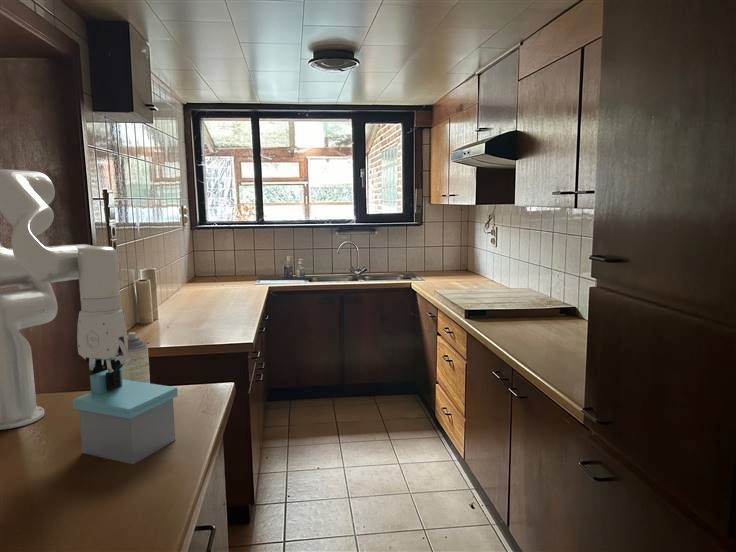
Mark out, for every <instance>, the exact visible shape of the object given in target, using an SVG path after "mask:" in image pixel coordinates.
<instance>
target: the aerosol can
mask: <svg viewBox="0 0 736 552" xmlns="http://www.w3.org/2000/svg"><path fill="white" fill-rule="evenodd" d="M127 340H128V351H127V352H128V354H129V356H130V360H129V361H128V362H126V363H124V365H123V366H122V369H121V371H122V380H130V381H137V382H144V383H150V384H151V381H150V380H151V379H150V378H151V377H150V376H151V375H150V361H149V346H148V344H147V342H145V341H143V339H141V338H139V337H138V336H137V333H136V332H133V331H132V332H128V335H127Z"/></svg>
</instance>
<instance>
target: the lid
mask: <svg viewBox="0 0 736 552" xmlns="http://www.w3.org/2000/svg"><path fill="white" fill-rule="evenodd" d="M107 372H108V369H106V370H105V371H102V372H99V373H96V374H94V375H92V374H91V375H89V381H90V383H89V384H90V392H88V393H86V394H82V395H80V396H78V397H75V398H73V399H72V405H73V406H72V407H73V409H74V410H78V411H79V410H85V411H90V412H96V413H101V414H107V415H112V416H117V417H123V418H128V419H131V418H133V417H135V416H137V415H139V414H141V413H144V412H146V411H148V410H150V409H152V408H154V407H156V406H158V405H160V404H162V403H164V402H167V401H169V400H171V399H173V400H174V398H177V397H179V396H178V395H179V394H178V387H176V386H171V385H170V386H169V385H163V384H156V383H151V382H150V383H144V382H137V381H130V380H122V371H121V369H120V380H121V386H120V387H119V388H116V389H114V390H111V391H108V390H107V384H106V373H107Z"/></svg>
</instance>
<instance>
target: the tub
mask: <svg viewBox="0 0 736 552" xmlns="http://www.w3.org/2000/svg"><path fill="white" fill-rule="evenodd" d="M174 409H175V408H174V398H173V399H171V400H169V401H167V402H164V403H162V404H160V405H158V406H156V407H154V408H152V409H150V410H148V411H146V412H144V413H141V414H139V415H137V416H135V417H133V418H131V419H128V418H123V417H117V416H112V415H107V414H101V413H96V412H90V411H85V410H79V409H78V413H79V425H80V435H81V436H80V438H81V449H82V454H85V455H90V456H94V457H99V458H103V459H108V460H112V461H115V462H116V461H117V462H121V463H124V464H130V465H135V464H136V463H139V462H140V461H141V460H144V459H145V458H147V457H149V456H150V455H152V454H154V453H156V452H157V451H159V450H160V449H163V448H164V447H166V446H168V445H169V444H171V443H172V442H174V441H176V427H175V426H176V425H175V412H174V411H175V410H174Z"/></svg>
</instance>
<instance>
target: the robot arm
mask: <svg viewBox="0 0 736 552" xmlns="http://www.w3.org/2000/svg"><path fill="white" fill-rule="evenodd" d="M55 190H56V189H55V186H54V184H53V181H52V180H51V179H50V178H49V177H48V176H47V175H46V174H44V173H43V172H40V171H36V170H24V169H23V170H22V169H21V170H20V169H9V168H8V169H3V168H1V169H0V214H1V216H3V218H4V219H5V220H6V221H7V223H9V224H10V226H11V227H12V228H13V229H12V232H11V236H10V238H11V239H10V244H11V247H10V248H8V247H4V246H3V245H2V244H1V243H2V242H0V289H4V288H5V289H6V288H12V287H17V286H18V288H19V289H12V290H7V291H6V290H5V291H0V430H8V429H17V428H19V427H23V426H27V425H30V424H32V423H35V422H37V421H39V420H41V418H43V417H44V416H45V408H43V407H42V406H39V405H37V398H36V397H37V395H36V388H35V387H36V386H35V375H34V365H33V354H32V347H31V344H30V342H29V341H28V339H27V338H26V337H25V336H23V334H22V333H21V331H20V330H23V329H26V328H30V327H35V326H39V325H40V326H41V325H44V324H47V323H50V322H52V321H53V320H54V319H55V318H56V316H57V315H58V310H59V309H58V301H57V298H56V295H55V292H54V289H53V287H52V284H51V283H58V282H65V281H72V280H73V281H74V280H78V284H79V293H80V294H79V297H80V298H79V299H80V309H81V310H80V311H79V313H78V317H77V327H76V328H77V329H76V330H77V331H76V332H77V334H76V339H77V340H76V341H77V352H78V355H79V356H80V357H82V359H84V360H85V361H86V363H87V364H88V367H89V368H88V369H89V370H90V371H91V375H94V374H96V373H99V372H102V371H105V370H108V372H107V373H106V384H107V390H108V391H111V390H114V389H116V388H119V387H120V386H121V380H120V369H122V366H123V365H124V363H126V362H128V361H129V360H130V356H129V354H128V352H127V351H128V340H127V338H128V332H127V326H126V321H125V316H124V313H123V310H122V307H121V294H120V293H121V292H120V278H119V265H118V264H119V263H118V253H117V250H116V249H115V248H114V247H112V246H106V245H105V246H102V245H101V246H100V245H99V246H96V245H95V246H94V245H91V244H87V243H85V244H84V243H82V244H81V243H80V244H65V245H63V244H62V245H51V246H45V245H43V244H42V243H41V242H40V241H39V240H38V239H37V238H36V237H37V236H39V235H41V234H43V233H44V232H45V231H47V230H48V229H49V228H50V226H51V225H52V223H53V221H54V217H55V213H54V210H53V209H52V208H51V207H50V206H49V205H50V204H52V202H53V201H54V199H55V194H56V191H55ZM113 361H114V362H113ZM104 362H106V366H104Z"/></svg>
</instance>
